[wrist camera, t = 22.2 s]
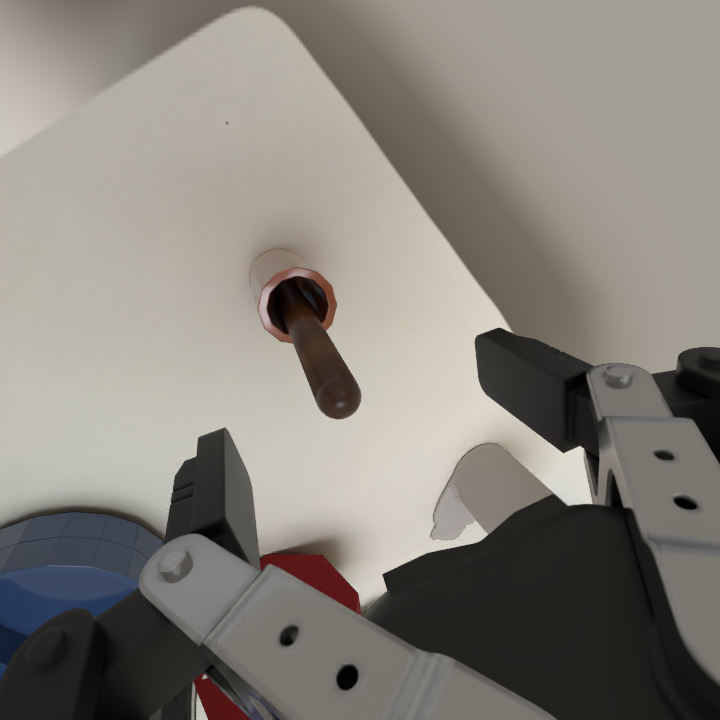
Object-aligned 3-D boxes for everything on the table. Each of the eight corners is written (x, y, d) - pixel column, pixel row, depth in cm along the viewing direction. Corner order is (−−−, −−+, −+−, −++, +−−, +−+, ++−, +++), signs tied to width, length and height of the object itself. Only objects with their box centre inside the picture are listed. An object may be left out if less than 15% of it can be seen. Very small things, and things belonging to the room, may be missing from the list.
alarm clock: (207, 619, 41) (193, 939, 23) (183, 561, 37) (146, 887, 20) (344, 571, 44) (422, 817, 27) (334, 513, 41) (417, 754, 23)
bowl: (-97, 559, 30) (-166, 638, 24) (126, 476, 33) (107, 531, 27) (30, 672, 37) (-2, 752, 32) (204, 596, 40) (201, 657, 34)
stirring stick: (266, 273, 29) (316, 397, 14) (289, 266, 30) (362, 381, 15) (273, 295, 30) (328, 435, 15) (296, 288, 31) (371, 418, 16)
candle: (417, 538, 46) (537, 749, 29) (471, 437, 43) (643, 606, 25) (464, 543, 49) (599, 737, 31) (518, 449, 46) (702, 607, 28)
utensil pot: (240, 258, 29) (247, 281, 21) (298, 241, 30) (324, 258, 22) (260, 313, 31) (273, 353, 23) (314, 296, 32) (344, 330, 24)
